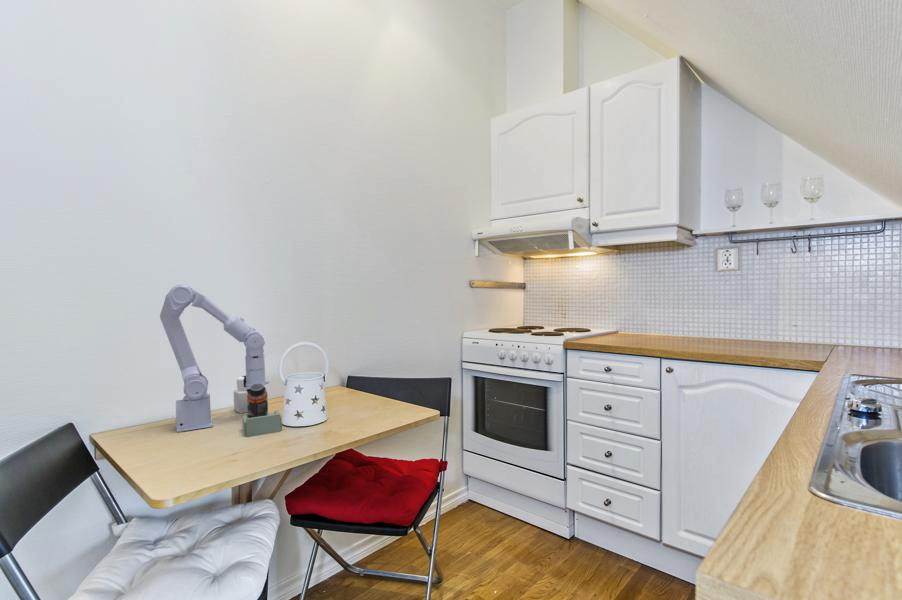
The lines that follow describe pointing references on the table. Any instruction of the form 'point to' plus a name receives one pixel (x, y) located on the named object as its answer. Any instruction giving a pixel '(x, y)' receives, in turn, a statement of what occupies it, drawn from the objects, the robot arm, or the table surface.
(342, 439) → the table surface
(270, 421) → the holder
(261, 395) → the supplement bottle
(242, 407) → the medicine bottle
